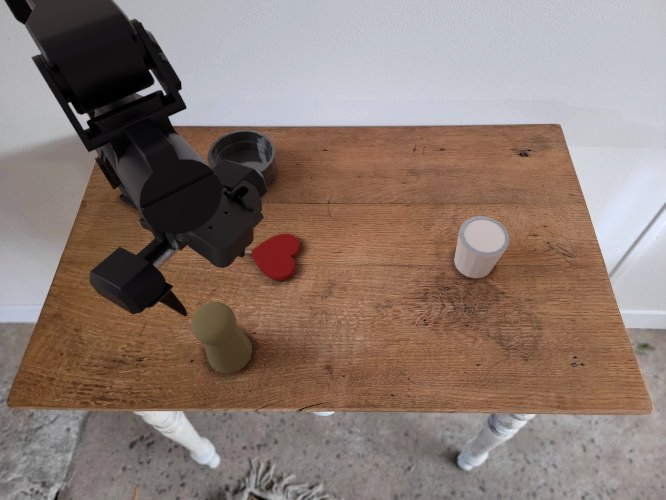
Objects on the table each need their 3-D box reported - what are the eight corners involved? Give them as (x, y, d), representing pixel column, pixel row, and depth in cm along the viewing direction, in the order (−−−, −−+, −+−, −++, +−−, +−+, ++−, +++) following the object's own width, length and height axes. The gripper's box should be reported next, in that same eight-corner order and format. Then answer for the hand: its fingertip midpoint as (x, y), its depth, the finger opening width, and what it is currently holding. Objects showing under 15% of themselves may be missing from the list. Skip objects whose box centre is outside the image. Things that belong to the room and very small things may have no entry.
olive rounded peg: (199, 363, 64) (174, 330, 55) (221, 325, 67) (201, 287, 58) (239, 380, 63) (220, 349, 54) (259, 339, 66) (245, 303, 57)
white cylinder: (501, 252, 73) (515, 224, 67) (489, 288, 70) (503, 263, 64) (457, 236, 75) (467, 209, 69) (443, 272, 71) (452, 245, 65)
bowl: (200, 179, 82) (193, 160, 78) (241, 140, 87) (236, 121, 83) (251, 206, 79) (246, 188, 75) (290, 164, 84) (288, 145, 80)
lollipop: (194, 270, 72) (292, 283, 71) (193, 267, 71) (292, 280, 70) (210, 226, 77) (303, 238, 75) (209, 223, 76) (302, 234, 74)
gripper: (128, 274, 33) (206, 384, 44) (290, 130, 43) (320, 250, 54) (42, 227, 39) (130, 336, 50) (203, 108, 48) (247, 222, 59)
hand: (213, 283), depth 53 cm, fingers open, 9 cm apart
